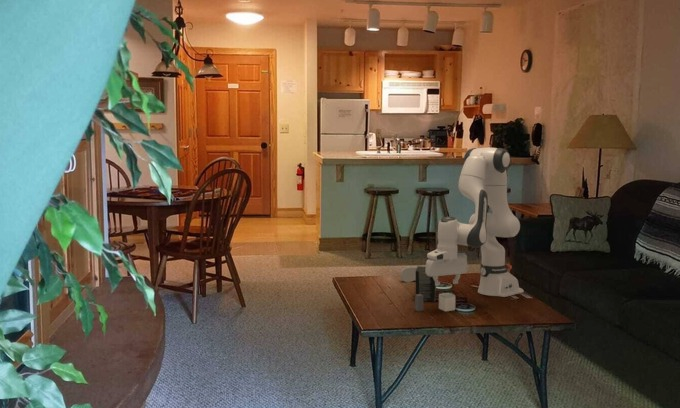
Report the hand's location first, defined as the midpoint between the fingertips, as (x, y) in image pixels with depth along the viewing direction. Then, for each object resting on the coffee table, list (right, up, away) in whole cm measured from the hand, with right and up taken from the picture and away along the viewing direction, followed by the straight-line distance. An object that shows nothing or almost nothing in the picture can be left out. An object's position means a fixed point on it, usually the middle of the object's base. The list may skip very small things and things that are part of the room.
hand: (446, 284), depth 275 cm
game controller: (-6, -5, +53) cm, 54 cm away
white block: (+1, -11, +2) cm, 11 cm away
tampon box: (-6, -9, +19) cm, 22 cm away
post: (-12, -11, 0) cm, 17 cm away
